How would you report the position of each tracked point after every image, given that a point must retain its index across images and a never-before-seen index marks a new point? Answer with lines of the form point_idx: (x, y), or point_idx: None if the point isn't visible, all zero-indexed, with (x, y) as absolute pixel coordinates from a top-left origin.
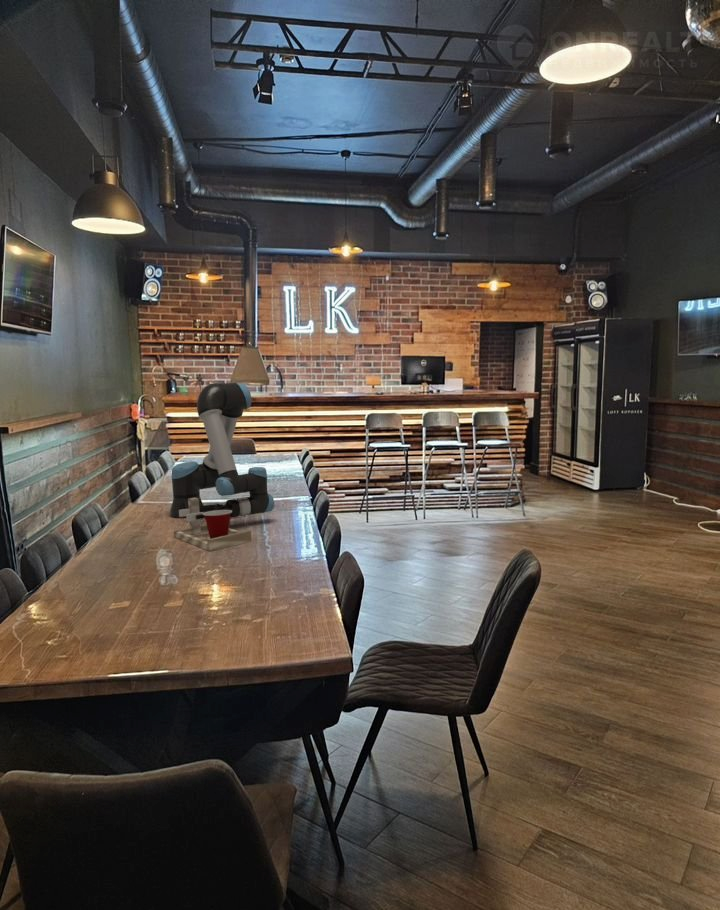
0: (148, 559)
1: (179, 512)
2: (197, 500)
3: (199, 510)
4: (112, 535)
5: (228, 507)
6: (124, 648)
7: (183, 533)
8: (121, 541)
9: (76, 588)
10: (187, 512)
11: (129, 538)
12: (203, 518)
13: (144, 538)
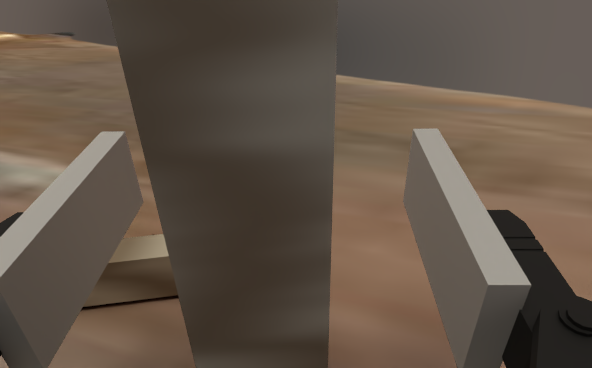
0: (17, 136)
1: (410, 154)
2: (125, 36)
3: (174, 273)
4: (507, 113)
5: None
6: None
7: (135, 250)
8: (375, 119)
9: (7, 56)
10: (432, 228)
11: None
12: (9, 358)
13: (373, 168)
